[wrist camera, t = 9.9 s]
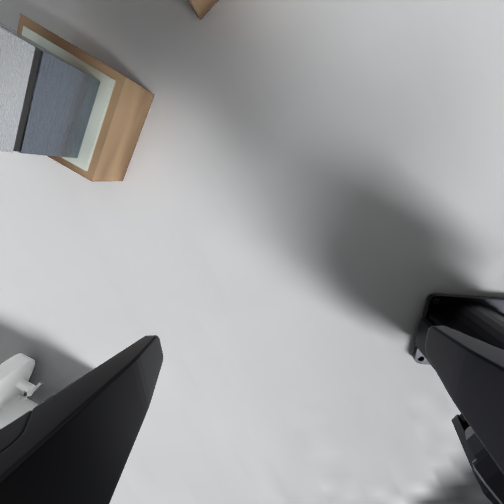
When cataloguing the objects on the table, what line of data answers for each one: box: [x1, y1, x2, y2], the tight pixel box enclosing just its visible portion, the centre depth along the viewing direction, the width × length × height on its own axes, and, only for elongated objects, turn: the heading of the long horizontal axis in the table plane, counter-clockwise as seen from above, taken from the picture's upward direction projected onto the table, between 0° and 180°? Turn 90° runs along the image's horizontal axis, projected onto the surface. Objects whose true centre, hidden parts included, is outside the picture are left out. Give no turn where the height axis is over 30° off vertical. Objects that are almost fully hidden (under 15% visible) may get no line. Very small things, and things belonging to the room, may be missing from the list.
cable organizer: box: [0, 353, 41, 429], centre depth 24 cm, size 15×11×12 cm
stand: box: [17, 14, 154, 182], centre depth 18 cm, size 7×7×4 cm
